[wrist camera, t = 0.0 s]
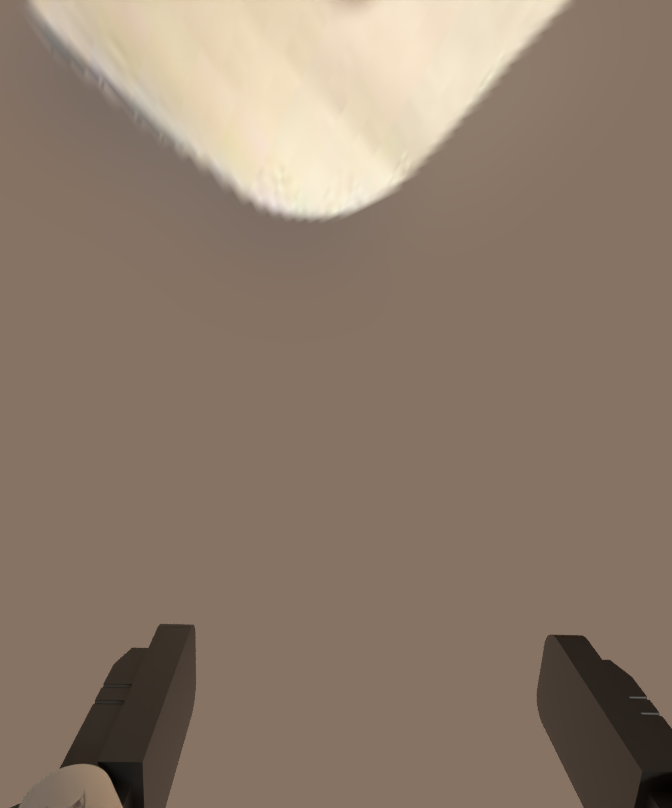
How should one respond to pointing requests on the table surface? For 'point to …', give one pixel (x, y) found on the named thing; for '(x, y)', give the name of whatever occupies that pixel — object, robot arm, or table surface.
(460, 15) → the table surface
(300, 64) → the table surface
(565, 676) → the robot arm
